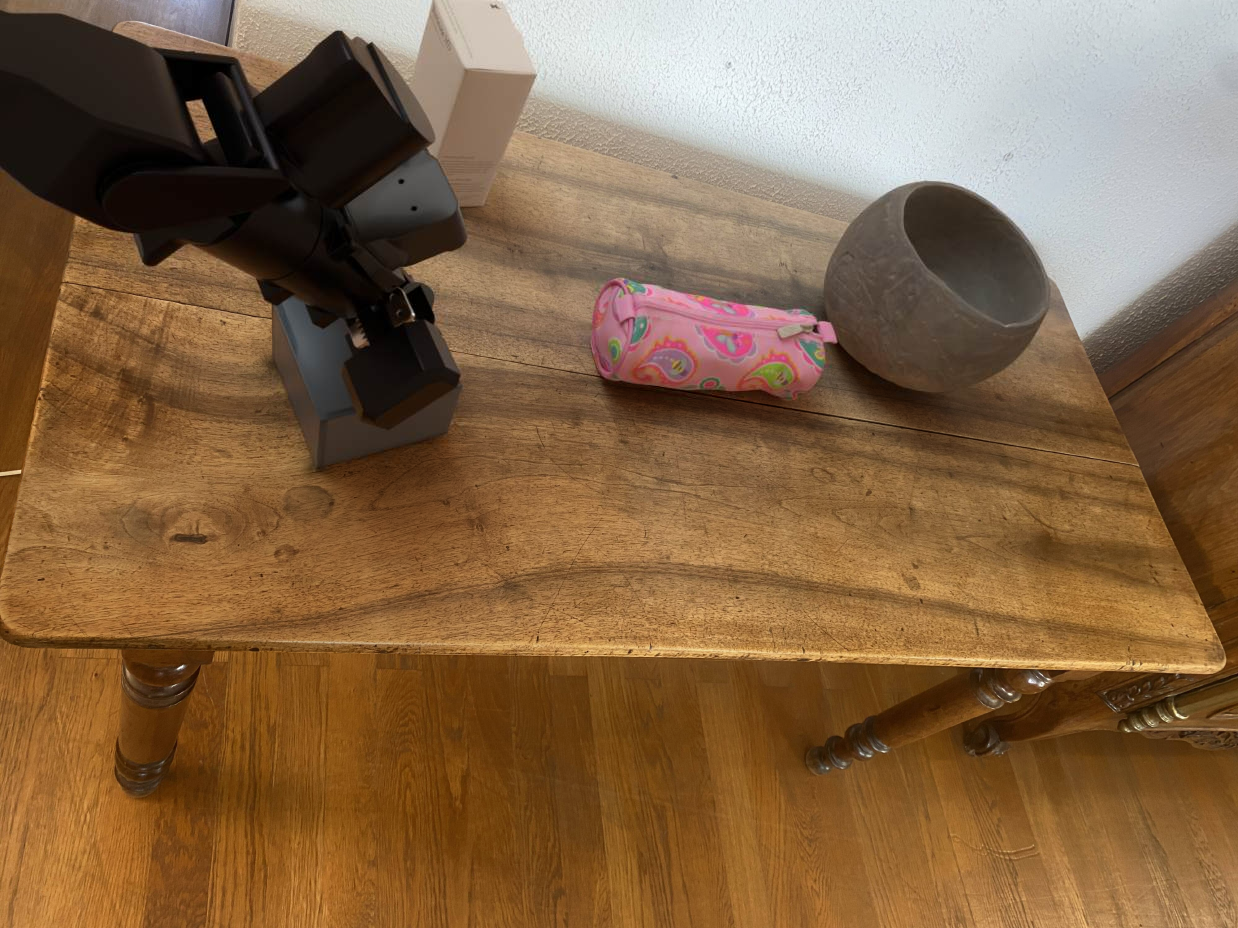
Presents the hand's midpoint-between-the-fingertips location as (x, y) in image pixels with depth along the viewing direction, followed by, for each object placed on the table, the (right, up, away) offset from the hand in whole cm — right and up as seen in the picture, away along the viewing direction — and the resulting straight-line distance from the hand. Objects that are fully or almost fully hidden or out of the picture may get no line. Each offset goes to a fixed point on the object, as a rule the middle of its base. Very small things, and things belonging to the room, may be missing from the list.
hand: (429, 322), depth 61 cm
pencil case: (+20, -1, +20) cm, 28 cm away
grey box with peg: (-9, -3, -2) cm, 10 cm away
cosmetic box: (-3, +17, +19) cm, 26 cm away
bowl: (+41, +3, +33) cm, 53 cm away
